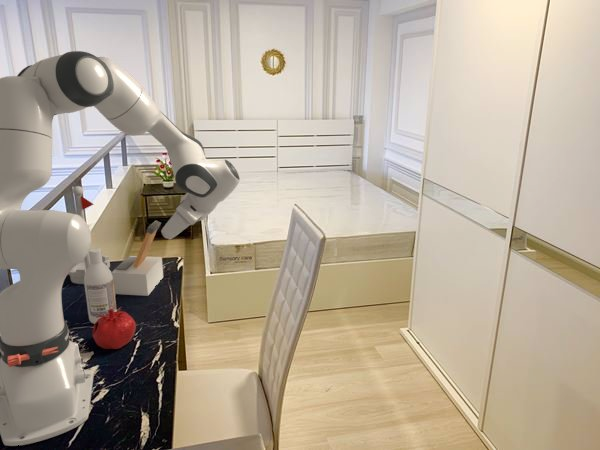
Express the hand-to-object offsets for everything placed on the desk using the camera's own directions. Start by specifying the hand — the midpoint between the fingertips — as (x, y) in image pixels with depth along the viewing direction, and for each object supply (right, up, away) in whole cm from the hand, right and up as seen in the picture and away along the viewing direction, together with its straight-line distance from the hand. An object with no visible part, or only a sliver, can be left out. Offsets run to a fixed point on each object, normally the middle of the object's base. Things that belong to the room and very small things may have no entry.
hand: (165, 235), depth 136 cm
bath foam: (-13, -22, -13) cm, 29 cm away
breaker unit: (-10, -16, +6) cm, 19 cm away
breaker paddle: (-9, -9, +4) cm, 14 cm away
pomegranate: (-5, -26, -23) cm, 35 cm away
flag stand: (-28, -14, +11) cm, 33 cm away
